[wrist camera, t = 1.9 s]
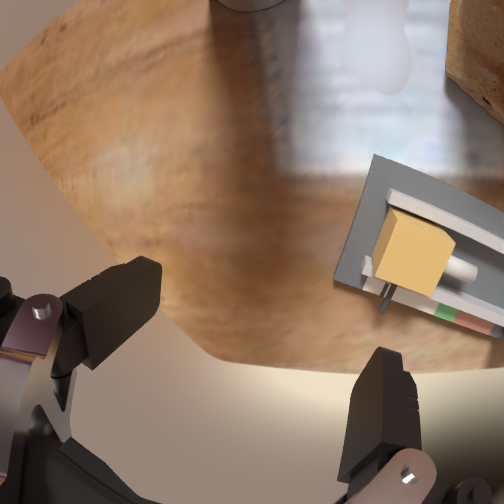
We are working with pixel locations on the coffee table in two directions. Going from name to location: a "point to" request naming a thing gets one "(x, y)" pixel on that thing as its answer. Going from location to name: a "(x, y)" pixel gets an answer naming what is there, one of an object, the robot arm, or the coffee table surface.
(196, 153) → the coffee table surface
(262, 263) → the coffee table surface
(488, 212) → the base
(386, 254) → the gauge carriage
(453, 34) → the brown clay boot
